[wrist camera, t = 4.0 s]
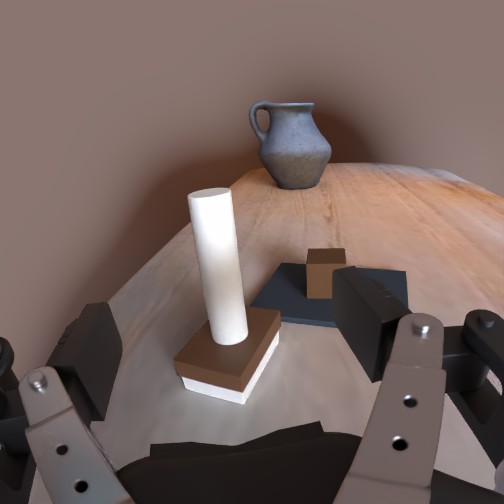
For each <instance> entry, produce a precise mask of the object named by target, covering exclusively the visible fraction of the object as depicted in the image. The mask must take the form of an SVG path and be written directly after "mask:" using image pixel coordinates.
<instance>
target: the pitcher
mask: <svg viewBox="0 0 504 504" xmlns="http://www.w3.org/2000/svg"><path fill="white" fill-rule="evenodd" d="M313 107H314V104H313V103H299V104H297V103H285V104H283V103H280V104H273V103H270V102H268V101H264V100H262V101H259V102H257V103H255V104H254V105H253V106H252V107H251V108H250V111H249V120H250V124H251V126H252V128H253V130H254V132H255V134H256V135H257V137H258V139H259V141H260V148H259V152H258V155H259V158H260V160H261V162H262V164H263V165H264V167H265V168H266V169H267V171H268V172H269V174H270V175H271V177H272V178H273V179H274V181H275V182H276V183H277V185H278V186H279V187H280V188H281V189H291V190H293V189H307V188H311V187H314V186H316V185H317V183H318V182H319V180H320V178H321V176H322V173H323V171H324V169H325V167H326V165H327V162H328V160H329V158H330V156H331V147H330V145H329V144H328V142H327V141H326V140H325V138H324V137H323V136H322V135H321V133H320V132H319V130H318V128H317V127H316V125H315V123H314V121H313V119H312V116H311V111H312V109H313ZM258 109H264V110H267V111H268V112H269V115H270V126H269V129H268V131H267V132H263V131H262V130H261V129H260V127H259V125H258V122H257V119H256V112H257V110H258Z"/></svg>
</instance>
